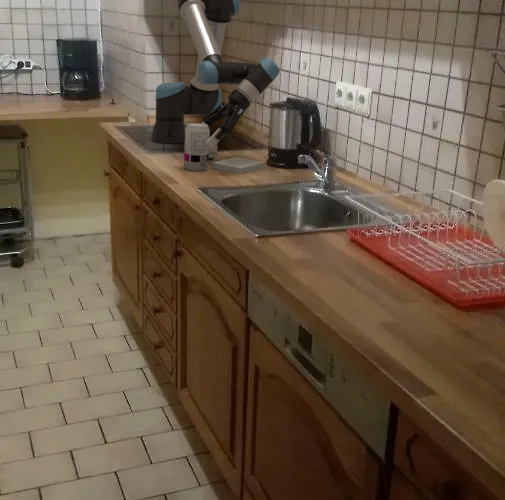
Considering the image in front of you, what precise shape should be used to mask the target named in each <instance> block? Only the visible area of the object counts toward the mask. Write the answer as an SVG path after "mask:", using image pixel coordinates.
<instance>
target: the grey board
mask: <svg viewBox="0 0 505 500" xmlns="http://www.w3.org/2000/svg"><path fill="white" fill-rule="evenodd" d="M265 167H266V162H264V161H259V160H255V159H250V158H244V157H238V156H235V157H232V158H227V159H222V160H217V162H213V163H212V164H211V169H212V170H213V169H214V170H219V171H224V172H228V173H234V174H238V175H242V174H246V173H249V172H255V171H258V170H262V169H265Z"/></svg>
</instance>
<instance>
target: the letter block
mask: <svg viewBox="0 0 505 500" xmlns="http://www.w3.org/2000/svg"><path fill="white" fill-rule="evenodd" d="M217 161H218V142H217V143H216V144H215V146H214V147H213V148H210V146H209V163H210V164H211V163H213V162H217Z"/></svg>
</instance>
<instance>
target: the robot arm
mask: <svg viewBox="0 0 505 500" xmlns="http://www.w3.org/2000/svg"><path fill="white" fill-rule="evenodd" d="M177 8H178V11H179V15H180V17H181V18H182V19H183V20H185V23H186V27H187V28H188V31H189V33H190V36H191V39H192V42H193V44H194V46H195V49H196V52H197V55H198V57H197V64H196V69H195V76H194V77H193V78H191V80H190V82H189V85H186V84H185V82H183V81H181V82H180V81H179V82H178V81H173V82H166V83H161V84H158V85H157V87H156V89H155V90H156V91H155V122H154V125H153V128H152V132H151V134H150V140H151V142H156V143H159V144H172V145H173V144H185V128H186V124H185V116H204V117H202V119H201V120H202V123H201V124H206V125H208V127H209V129H210V128H211V125H213V124H215V123H217V122H219V121H220V120H222V119H223V122H222V124H221V125H220V126H219V128H218V129H217V130H216V131H215V132H214V133H213V134H212V135H211V136H210V137H209V139H208V141H207V142H206V143H207V144H208V145H209V146H210V148H213V147H214V146H215V144H216V143H217V144H218V143H219V142H220V140H221V139H222V138H223V137H224V136H225V135H226V134H231V133H232V132H233V130H234V129H235V128H236V125H237V124H238V122H239V120H240V118H241V117H242V116H243V114H244V113H245V112H246V110H247V109H249V107H250V106H251V104H253V103H254V102H255V101H257V100H258V97H259V96H260V95H261V94H262V93H263V92H265V90H266V89H267V88H268V87H269V86H270V85H271V84H272V83H273V82H274V81H275V80H276V78H277V77H278V75H279V74H280V67H279V66H278V65H277V63H276V62H275V61H274V60H273V59H271V58H270V57H267V56H266V57H264V58H262V59H261V60H260V61H259V62H258V63H255V62H254V63H253V62H251V61H241V62H240V61H239V62H237V61H224V58H223V57H222V50H223V44H224V38H225V33H226V27H227V25H228V24H230V23H231V22H232V18H233V17H235V16H237V15H238V13H239V12H240V8H241V0H177ZM219 85H237V86H236V88H235V89H233V90H232V92H231V93H230V94H229V95H228V96H227V99H228V102H227V103H226V102H225V101H222V100H223V99H222V95H223V94H222V90H221V89H220V87H219Z"/></svg>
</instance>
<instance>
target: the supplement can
mask: <svg viewBox="0 0 505 500" xmlns="http://www.w3.org/2000/svg"><path fill="white" fill-rule="evenodd" d="M210 132H211V131H210V128H209V127H208V125H206V124H202V123H196V122H193V123H191V122H190V123H186V125H185V143H184V152H183V153H184V156H183V157H184V161H183V167H184V168H185V169H186V170H187V171H192V172H203V171H206V170H208V168H209V163H210V162H209V145H208V144H207V143H206V142H207V141H208V139H209V138H210V137H211V136H210V134H211V133H210Z"/></svg>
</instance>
